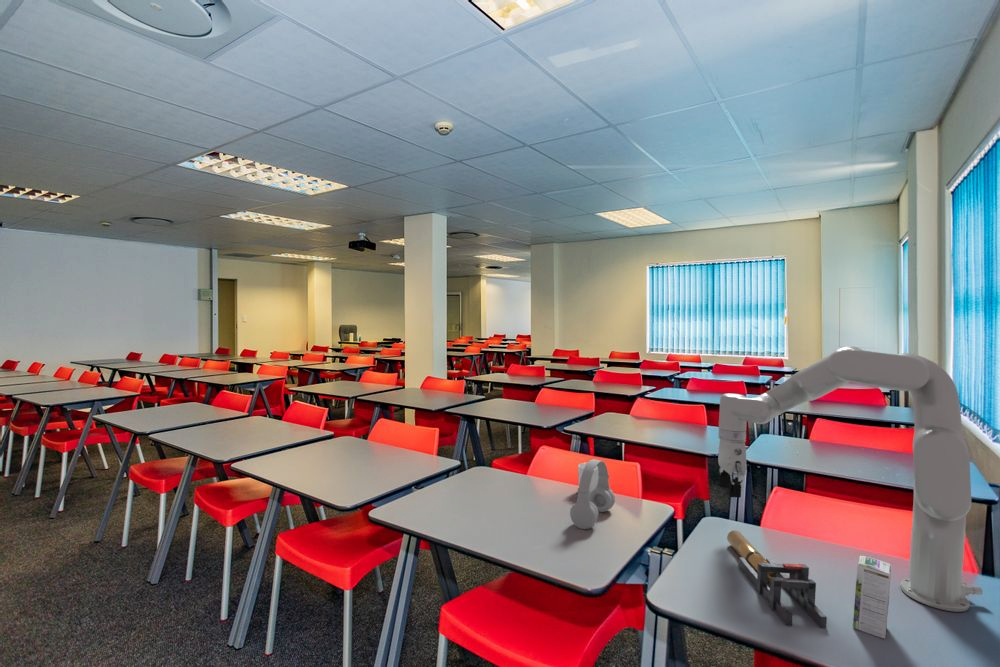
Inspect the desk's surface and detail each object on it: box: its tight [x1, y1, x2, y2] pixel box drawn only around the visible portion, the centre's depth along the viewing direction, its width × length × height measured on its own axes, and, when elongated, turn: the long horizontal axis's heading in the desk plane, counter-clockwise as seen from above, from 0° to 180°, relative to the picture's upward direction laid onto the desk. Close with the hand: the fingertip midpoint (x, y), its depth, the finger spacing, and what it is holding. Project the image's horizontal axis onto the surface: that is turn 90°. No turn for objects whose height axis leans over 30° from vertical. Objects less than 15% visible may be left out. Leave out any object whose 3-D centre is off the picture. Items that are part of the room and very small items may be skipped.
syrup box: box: [852, 555, 892, 640], centre depth 106 cm, size 6×6×14 cm
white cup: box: [577, 462, 599, 494], centre depth 182 cm, size 8×8×10 cm
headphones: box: [569, 458, 616, 530], centre depth 159 cm, size 20×8×19 cm, turn 148°
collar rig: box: [737, 556, 828, 629], centre depth 118 cm, size 9×25×9 cm, turn 176°
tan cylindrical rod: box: [726, 530, 777, 584], centre depth 133 cm, size 20×4×4 cm, turn 176°
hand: (729, 491), depth 148 cm, fingers open, 7 cm apart
